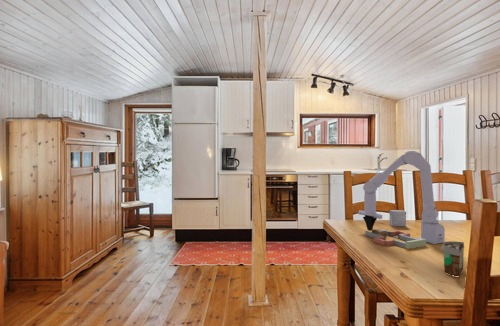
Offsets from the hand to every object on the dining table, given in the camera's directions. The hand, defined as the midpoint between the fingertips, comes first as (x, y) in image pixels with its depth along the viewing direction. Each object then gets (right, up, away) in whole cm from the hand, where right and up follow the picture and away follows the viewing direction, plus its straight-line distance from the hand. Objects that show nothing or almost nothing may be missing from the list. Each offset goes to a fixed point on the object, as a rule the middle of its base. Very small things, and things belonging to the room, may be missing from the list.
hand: (369, 230), depth 171 cm
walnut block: (+2, -2, -6) cm, 6 cm away
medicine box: (+22, -1, +17) cm, 28 cm away
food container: (+8, -3, -57) cm, 57 cm away
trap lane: (+6, -2, -15) cm, 16 cm away
